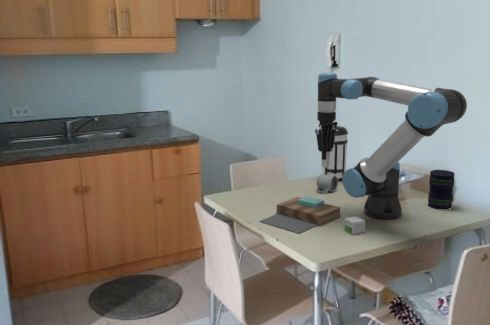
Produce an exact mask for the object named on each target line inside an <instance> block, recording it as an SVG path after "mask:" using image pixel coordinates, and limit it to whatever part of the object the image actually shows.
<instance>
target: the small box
mask: <svg viewBox="0 0 490 325" xmlns="http://www.w3.org/2000/svg"><path fill="white" fill-rule="evenodd" d="M343 227H344V231H346V232H348V233H349V234H351V235H352V236H353V235H358V233H359V234H364V233H365V232H366V220H365V219H363V218H360V217H359V216H357V215H354V216H350V217H345V218H344V226H343Z"/></svg>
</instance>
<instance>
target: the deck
mask: <svg viewBox="0 0 490 325" xmlns="http://www.w3.org/2000/svg"><path fill="white" fill-rule="evenodd" d="M301 198H302V197H299V196H295V197H292V198H290V199H288V200H285V201H281V202H280V203H277V204H276V214H278V213H279V214H282V215H286V216H289V217H293V218H296V219H300V220H303V221H307V222H311V223H314V224H318V225H317V226H319V227H322V226H323V225H325V224H327V223H330V222H331V221H333V220H335V219H338V218H340V217H341V207H340V206H336V205H333V204H328V203H325V202H324V205H323V206H321V207H319V208H316V209H314V208H310V207H307V206H303V205H299V204H298V199H301Z"/></svg>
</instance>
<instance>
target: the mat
mask: <svg viewBox="0 0 490 325" xmlns="http://www.w3.org/2000/svg"><path fill="white" fill-rule="evenodd" d="M258 221H259V223H261V224H262V223H263V224H266V225H268V226H269V225H270V226H272V227H275V228H278V229H282V230H285V231H288V232H292V233H294V232H295V234H297V235H298V234H299V235H300V234H302V233H304V232H307V231H309V230H311V229H312V228H315V227H317V226H319V225H318V224H314V223H311V222H307V221H303V220H300V219H296V218H293V217H289V216H286V215H282V214H279V213H278V214H277V213H276V214H273V215H272V216H268V217H267V218H264V219H261V220H258Z"/></svg>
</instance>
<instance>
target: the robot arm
mask: <svg viewBox="0 0 490 325" xmlns="http://www.w3.org/2000/svg"><path fill="white" fill-rule="evenodd" d="M337 75H338V74H337V73H335V72H320V73H319V74H318V78H317V113H316V114H317V116H316V117H317V121H319V123H318V128H315V129H314V132H315V135H316V144H317V151H318V152H321V167H322V168H323V167H329V158H330V151H331V152H332V150H331V149H333V146H334V140H335V133H336V130H337V126H338V125H337V126H334V122H336V120H337V119H336V117H337V112H336V111H337V98H339V99H345V100H348V101H349V100H358V99H359V98H361V97H362V98H364V97H366V98H367V97H368V98H373V99H377V100H383V101H387V102H390V103H395V104H400V105H403V106H407V111H406V112H405V113H404V121H403V122H402V123H401V124H400V125H399V126H398V127H397V128H396V129H395V130H394V131H393V132H392V133H391V134H390V135H389V136H388V138H386V140H385V141H383V143H382V144H381V145H380V146H379V147H378V148H377V149H376V150H375V151H374V152H373V153H372V154H371V155H370V156H369V157H364V158H362V159H361V160H360V161H359V162H358V163H357V164H356V165H355V166H354V167H350V168H348V169H346V171H345V172H344V174H343V178H342V180H343V181H342V180H341V181H342V186H343V188H344V190H345V192H346V194H348V195H349V196H350V197H352V198H357V199H358V198H364V197H366V196H367V198H366V200H365V201H366V202H364V203H365V204H364V207H363V214H365V215H366V216H368V217H371V218H374V219H378V220H379V219H381V220H393V219H399V218H401V216H402V211H403V208H402V206H401V202H400V198H399V187H400V172H401V169H400V167H401V166H400V162H399V161H401V159H403V157H405V155H407V154H408V152H410V151H411V150H413V148H414V147H415V146H416V145H417V144H418V143H419V142H420V141H421V140H422V139H423V138H424V137H425V138H427V137H429V138H430V137H432V136H433V135H434V134H435V133H436V132H437V131H438V130H439V129H440V128H441V127H442V126H443V125H447V124H448V125H449V124H452V123H455V122H458V121H459V120H461V119H462V118H463V116H465V114H466V112H467V108H468V107H467V106H468V103H467V99H466V97H465V96H464V94H463V93H462V92H461V91H459V90H456V89H451V88H441V87H436V88H434V89H432V88H428V87H427V88H426V87H421V86H416V85H411V84H406V83H400V82H394V81H390V80H389V81H388V80H384V79H380V78H379V77H376V76H367V77H357V78H338V76H337Z"/></svg>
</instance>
